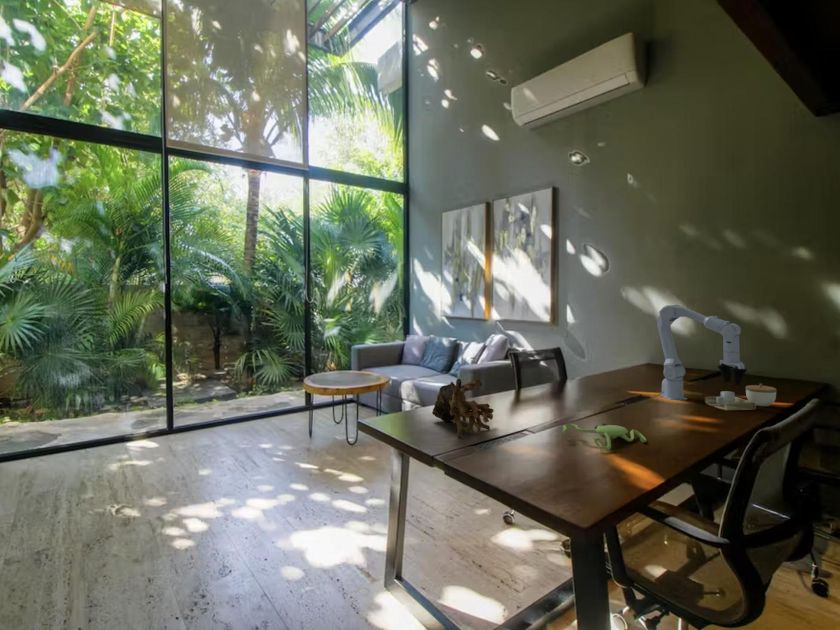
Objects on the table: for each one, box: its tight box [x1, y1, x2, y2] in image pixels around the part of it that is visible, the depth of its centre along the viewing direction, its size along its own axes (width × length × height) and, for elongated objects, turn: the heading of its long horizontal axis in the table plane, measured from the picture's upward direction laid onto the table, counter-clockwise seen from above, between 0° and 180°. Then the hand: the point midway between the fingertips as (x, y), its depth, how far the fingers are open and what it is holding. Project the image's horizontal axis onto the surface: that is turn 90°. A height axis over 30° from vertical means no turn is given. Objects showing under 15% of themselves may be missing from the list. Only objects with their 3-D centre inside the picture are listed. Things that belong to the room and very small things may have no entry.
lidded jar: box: [745, 383, 777, 407], centre depth 195 cm, size 11×11×9 cm
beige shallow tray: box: [704, 395, 757, 411], centre depth 194 cm, size 13×13×3 cm
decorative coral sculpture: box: [431, 378, 494, 438], centre depth 172 cm, size 26×23×30 cm
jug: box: [715, 390, 736, 407], centre depth 194 cm, size 5×7×6 cm
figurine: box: [561, 423, 648, 454], centre depth 154 cm, size 18×27×6 cm
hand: (732, 383), depth 192 cm, fingers open, 7 cm apart
